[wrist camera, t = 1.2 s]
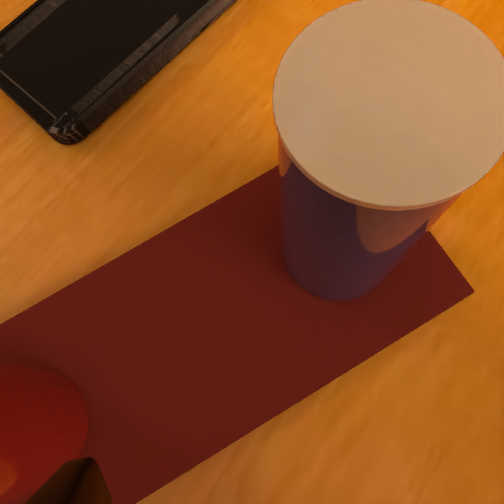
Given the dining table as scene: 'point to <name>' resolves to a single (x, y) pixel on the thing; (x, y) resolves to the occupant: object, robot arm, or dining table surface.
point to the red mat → (211, 336)
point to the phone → (92, 55)
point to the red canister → (37, 427)
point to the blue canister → (379, 136)
